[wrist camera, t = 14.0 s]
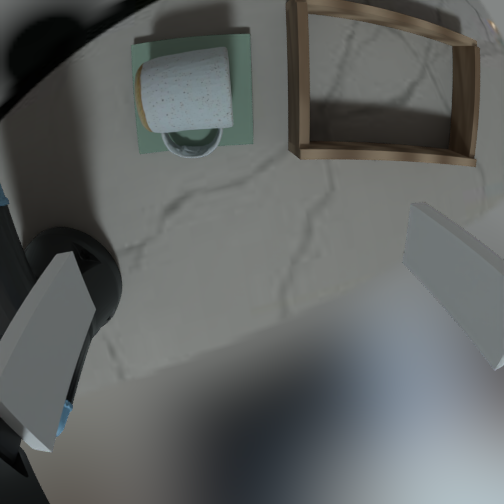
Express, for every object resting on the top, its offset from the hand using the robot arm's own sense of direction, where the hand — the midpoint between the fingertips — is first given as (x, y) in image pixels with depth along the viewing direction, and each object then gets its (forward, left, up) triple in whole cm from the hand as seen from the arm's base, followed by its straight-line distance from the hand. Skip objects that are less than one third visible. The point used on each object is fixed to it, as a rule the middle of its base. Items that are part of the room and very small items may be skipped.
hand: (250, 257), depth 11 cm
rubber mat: (-3, +6, -24) cm, 25 cm away
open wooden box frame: (+19, +8, -24) cm, 32 cm away
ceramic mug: (-3, +5, -23) cm, 24 cm away
